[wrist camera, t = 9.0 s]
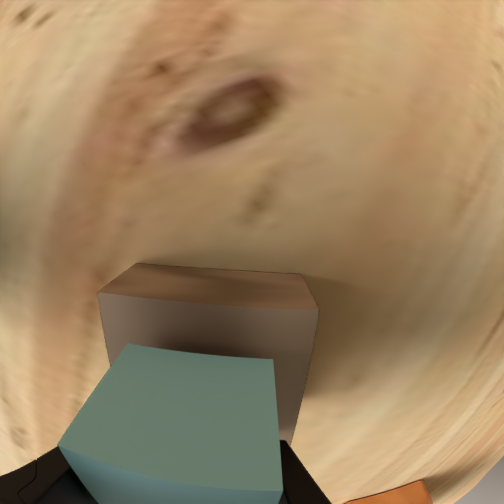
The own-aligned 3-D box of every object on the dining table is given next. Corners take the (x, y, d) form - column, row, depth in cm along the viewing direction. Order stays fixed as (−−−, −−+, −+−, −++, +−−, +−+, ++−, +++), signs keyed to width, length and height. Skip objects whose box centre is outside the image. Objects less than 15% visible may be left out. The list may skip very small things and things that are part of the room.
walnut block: (150, 389, 15) (129, 434, 11) (136, 263, 13) (97, 292, 9) (282, 401, 15) (288, 451, 11) (301, 274, 13) (319, 309, 9)
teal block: (147, 433, 10) (114, 521, 5) (128, 343, 9) (56, 444, 4) (260, 447, 10) (260, 546, 5) (273, 359, 9) (282, 490, 4)
